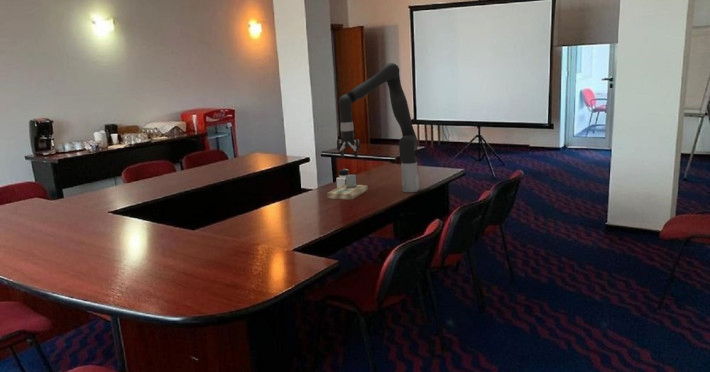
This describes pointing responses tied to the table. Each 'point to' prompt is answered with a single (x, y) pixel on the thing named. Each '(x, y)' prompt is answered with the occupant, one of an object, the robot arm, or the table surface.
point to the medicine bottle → (342, 177)
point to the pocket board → (347, 192)
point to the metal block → (350, 181)
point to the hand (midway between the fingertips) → (349, 157)
